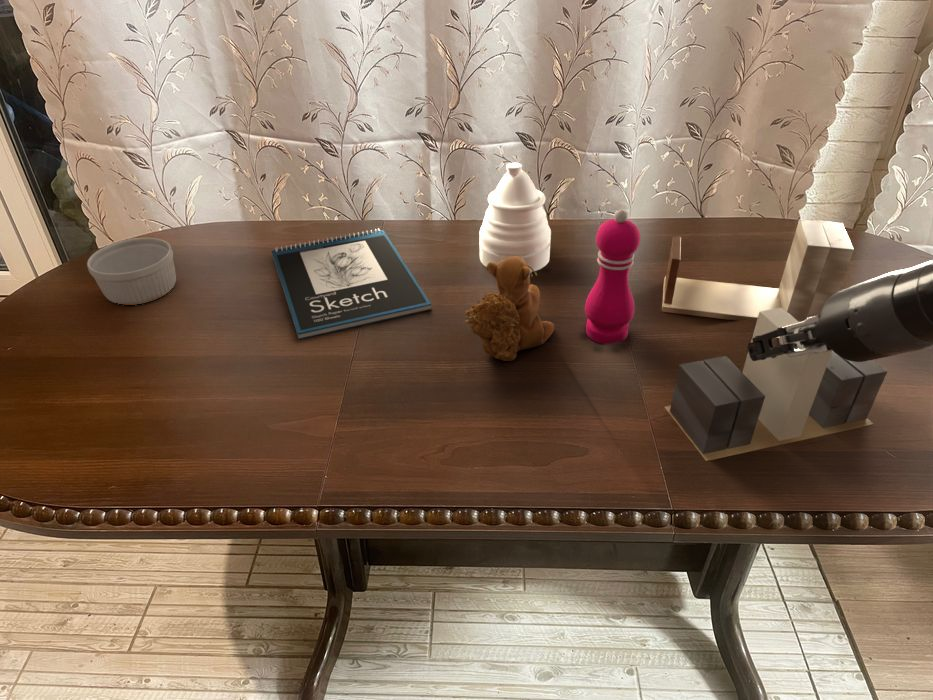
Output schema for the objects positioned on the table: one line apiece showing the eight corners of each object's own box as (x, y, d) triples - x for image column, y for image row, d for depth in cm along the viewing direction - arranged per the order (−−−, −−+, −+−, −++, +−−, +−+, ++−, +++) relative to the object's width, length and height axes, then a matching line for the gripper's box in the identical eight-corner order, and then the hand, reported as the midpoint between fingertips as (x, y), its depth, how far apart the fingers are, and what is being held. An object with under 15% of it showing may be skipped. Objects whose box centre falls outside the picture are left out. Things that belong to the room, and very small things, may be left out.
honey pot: (542, 277, 114) (547, 178, 103) (471, 269, 117) (469, 171, 106) (555, 245, 123) (561, 151, 113) (489, 238, 127) (489, 146, 116)
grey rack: (816, 381, 89) (836, 329, 84) (871, 430, 81) (895, 376, 76) (662, 412, 84) (673, 359, 80) (704, 466, 77) (719, 412, 72)
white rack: (816, 298, 106) (842, 221, 98) (825, 331, 98) (854, 251, 90) (663, 281, 112) (676, 207, 104) (661, 311, 104) (675, 234, 96)
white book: (755, 391, 86) (781, 307, 78) (800, 436, 79) (833, 349, 71) (735, 395, 85) (759, 311, 78) (778, 441, 78) (809, 354, 71)
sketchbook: (299, 341, 100) (296, 329, 99) (272, 256, 123) (270, 246, 122) (432, 310, 106) (431, 299, 105) (382, 234, 129) (381, 225, 128)
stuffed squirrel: (557, 328, 101) (562, 252, 93) (519, 379, 91) (521, 298, 83) (499, 313, 105) (499, 238, 97) (456, 360, 95) (453, 281, 87)
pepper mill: (619, 317, 103) (635, 197, 91) (638, 343, 97) (658, 218, 85) (575, 323, 102) (586, 202, 90) (592, 350, 96) (606, 224, 84)
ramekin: (191, 294, 112) (180, 258, 108) (109, 319, 106) (94, 282, 102) (171, 264, 121) (160, 230, 117) (94, 286, 115) (79, 251, 111)
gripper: (938, 267, 64) (820, 308, 80) (810, 289, 61) (715, 326, 77) (961, 341, 63) (837, 367, 79) (832, 367, 60) (731, 388, 76)
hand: (777, 347), depth 78 cm, fingers open, 6 cm apart
